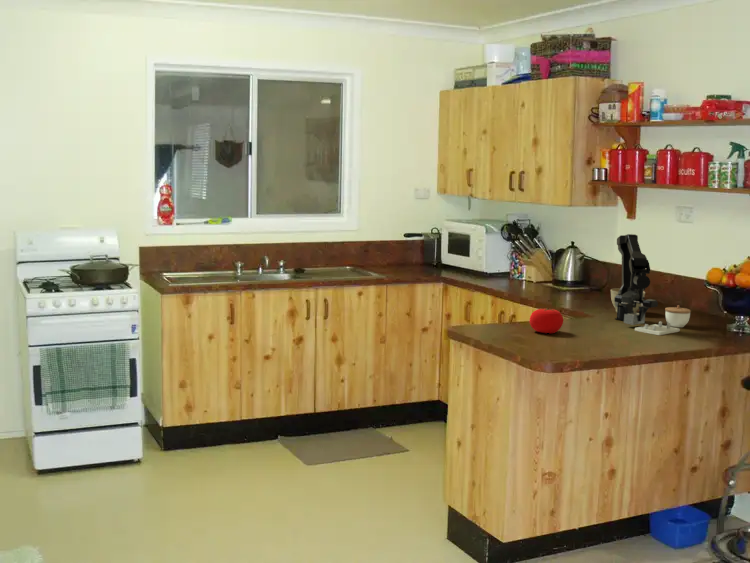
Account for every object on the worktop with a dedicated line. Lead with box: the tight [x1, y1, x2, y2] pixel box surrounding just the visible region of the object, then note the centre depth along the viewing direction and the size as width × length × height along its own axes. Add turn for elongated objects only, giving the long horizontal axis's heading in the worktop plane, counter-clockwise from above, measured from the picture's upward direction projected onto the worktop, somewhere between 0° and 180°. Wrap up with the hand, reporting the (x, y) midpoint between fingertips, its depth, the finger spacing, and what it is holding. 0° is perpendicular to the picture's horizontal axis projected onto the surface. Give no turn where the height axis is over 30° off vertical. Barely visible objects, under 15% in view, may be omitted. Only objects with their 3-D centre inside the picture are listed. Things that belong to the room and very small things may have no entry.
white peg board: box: [634, 321, 681, 336], centre depth 395 cm, size 12×16×3 cm
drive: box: [623, 312, 646, 326], centre depth 402 cm, size 5×8×4 cm, turn 126°
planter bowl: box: [610, 287, 646, 313], centre depth 440 cm, size 16×16×11 cm
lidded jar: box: [664, 304, 692, 328], centre depth 409 cm, size 11×11×9 cm
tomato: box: [528, 307, 564, 335], centre depth 383 cm, size 14×13×10 cm
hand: (634, 320), depth 403 cm, fingers closed on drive, 5 cm apart
